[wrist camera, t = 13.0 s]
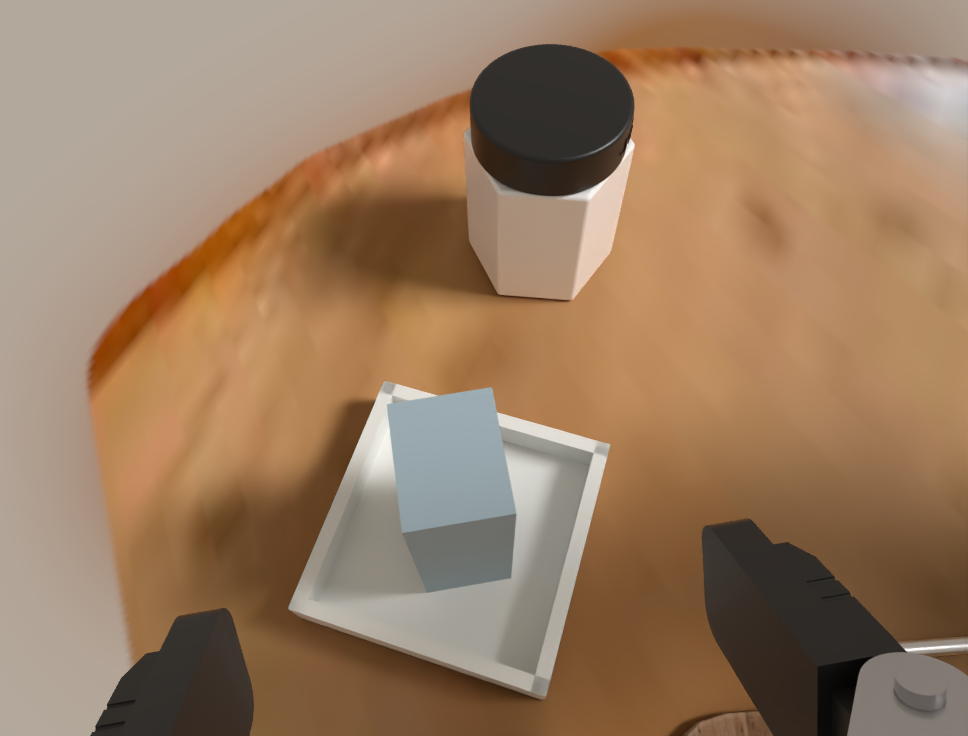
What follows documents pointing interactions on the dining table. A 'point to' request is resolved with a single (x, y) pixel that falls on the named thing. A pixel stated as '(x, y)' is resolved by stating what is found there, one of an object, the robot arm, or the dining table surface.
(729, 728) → the chopping board
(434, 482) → the tall gray-blue pillar
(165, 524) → the dining table surface
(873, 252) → the dining table surface
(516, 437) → the parts tray
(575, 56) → the jar
